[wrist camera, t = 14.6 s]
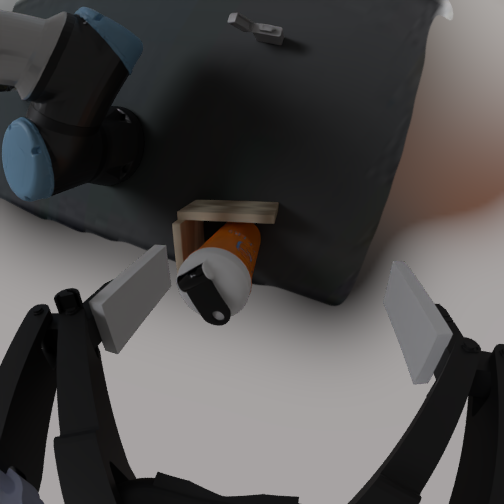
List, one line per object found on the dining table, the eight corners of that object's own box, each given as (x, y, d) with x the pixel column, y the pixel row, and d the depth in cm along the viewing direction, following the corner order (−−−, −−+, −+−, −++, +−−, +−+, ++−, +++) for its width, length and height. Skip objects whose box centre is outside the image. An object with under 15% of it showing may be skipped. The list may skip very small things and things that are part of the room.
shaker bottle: (238, 270, 51) (205, 342, 33) (205, 233, 49) (153, 289, 31) (277, 242, 48) (262, 309, 29) (243, 201, 46) (204, 246, 28)
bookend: (199, 254, 51) (178, 280, 42) (195, 199, 47) (171, 215, 38) (276, 260, 49) (270, 289, 40) (278, 202, 45) (273, 219, 36)
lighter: (284, 36, 34) (280, 17, 27) (281, 45, 35) (278, 27, 27) (240, 30, 34) (229, 11, 27) (238, 38, 35) (226, 21, 28)
